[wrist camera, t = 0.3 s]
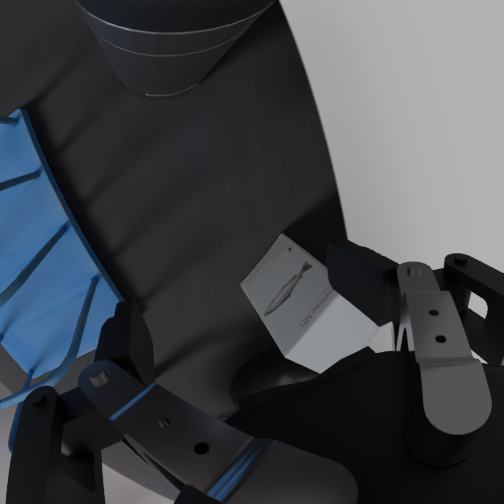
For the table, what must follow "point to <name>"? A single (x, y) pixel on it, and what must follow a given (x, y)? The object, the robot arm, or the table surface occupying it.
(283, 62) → the table surface
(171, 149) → the table surface
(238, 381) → the cooker pot
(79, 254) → the file sorter
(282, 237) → the supplement box
